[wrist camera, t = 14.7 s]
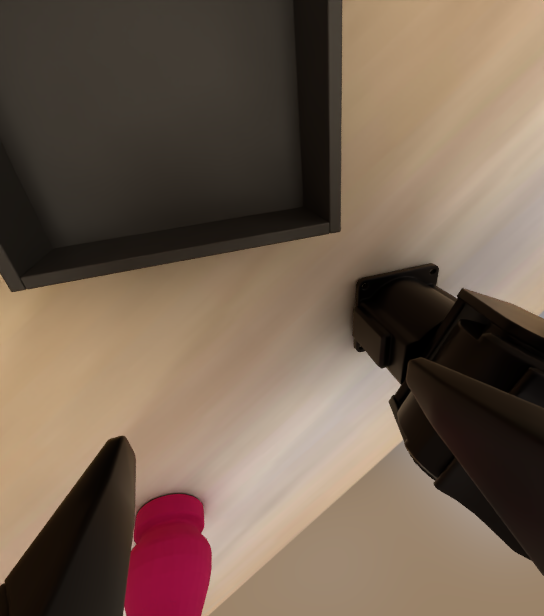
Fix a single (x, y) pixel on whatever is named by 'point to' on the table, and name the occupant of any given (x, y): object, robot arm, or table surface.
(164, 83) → the black box
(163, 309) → the table surface
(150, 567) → the pepper mill
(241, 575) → the table surface
